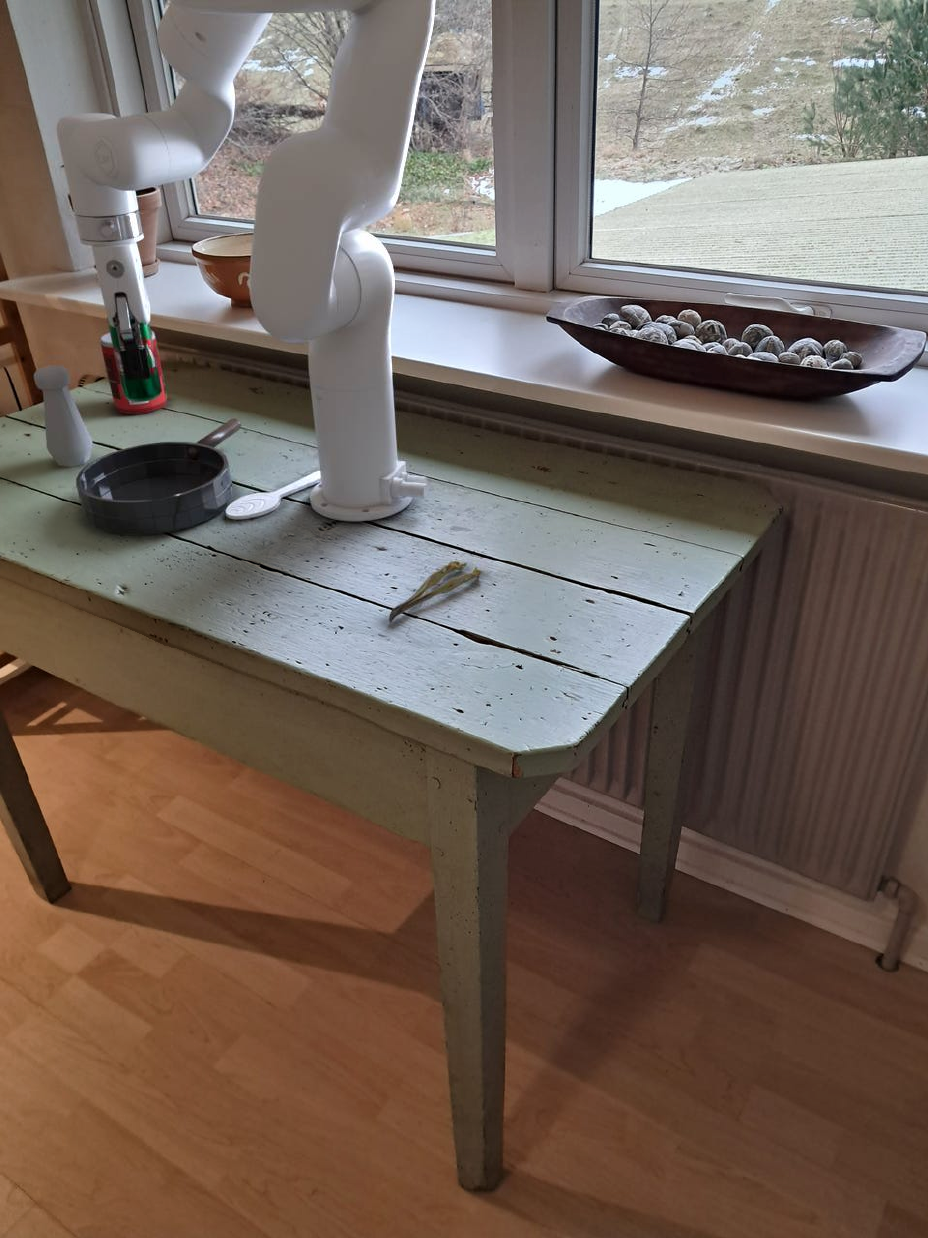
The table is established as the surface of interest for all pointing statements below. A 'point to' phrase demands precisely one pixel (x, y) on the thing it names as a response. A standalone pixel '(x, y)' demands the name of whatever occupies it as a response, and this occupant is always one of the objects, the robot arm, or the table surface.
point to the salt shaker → (62, 418)
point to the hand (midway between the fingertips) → (138, 370)
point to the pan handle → (216, 436)
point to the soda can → (151, 386)
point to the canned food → (115, 384)
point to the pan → (154, 488)
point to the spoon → (267, 499)
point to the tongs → (434, 581)
